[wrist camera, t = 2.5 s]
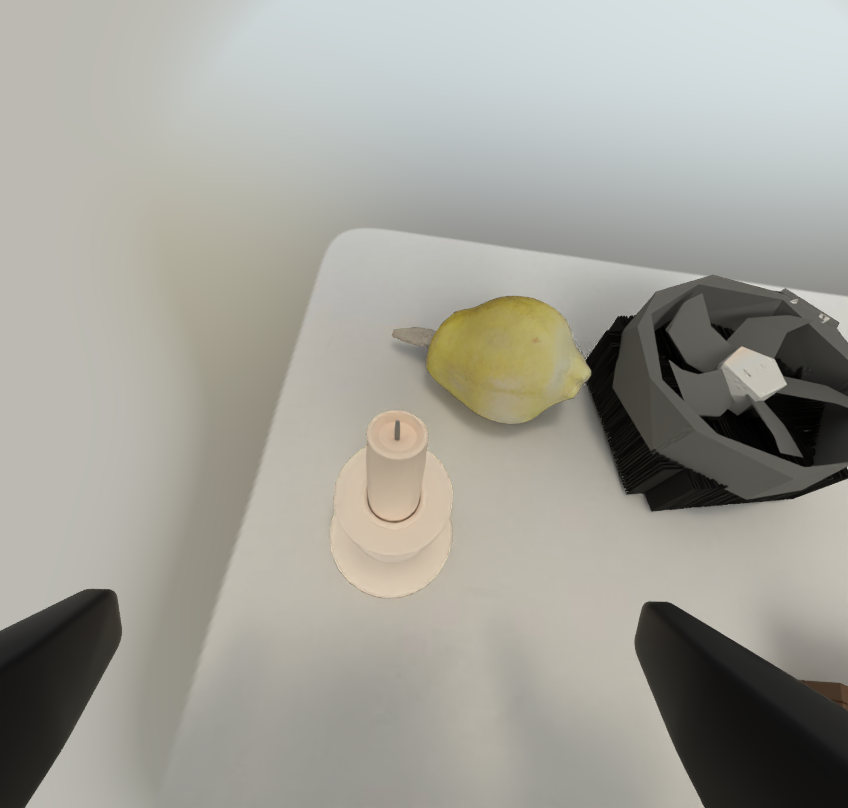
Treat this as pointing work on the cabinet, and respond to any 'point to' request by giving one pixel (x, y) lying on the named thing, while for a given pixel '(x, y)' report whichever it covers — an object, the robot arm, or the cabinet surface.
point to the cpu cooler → (724, 395)
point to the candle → (392, 510)
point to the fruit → (504, 358)
